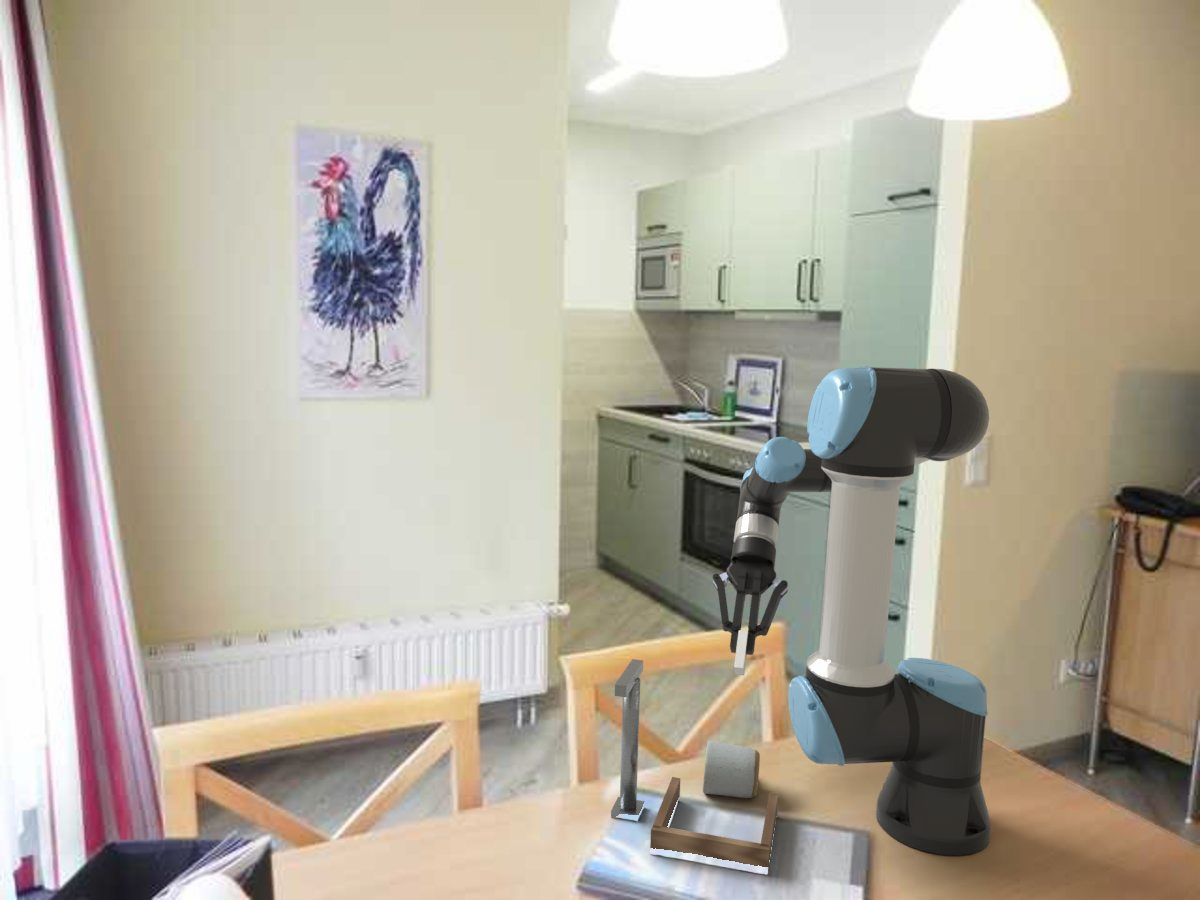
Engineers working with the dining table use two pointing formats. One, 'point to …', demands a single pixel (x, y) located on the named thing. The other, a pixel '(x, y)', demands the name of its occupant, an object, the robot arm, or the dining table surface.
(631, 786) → the t stake
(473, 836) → the dining table surface
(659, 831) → the tray frame
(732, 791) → the grey upright rounded block
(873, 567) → the robot arm
